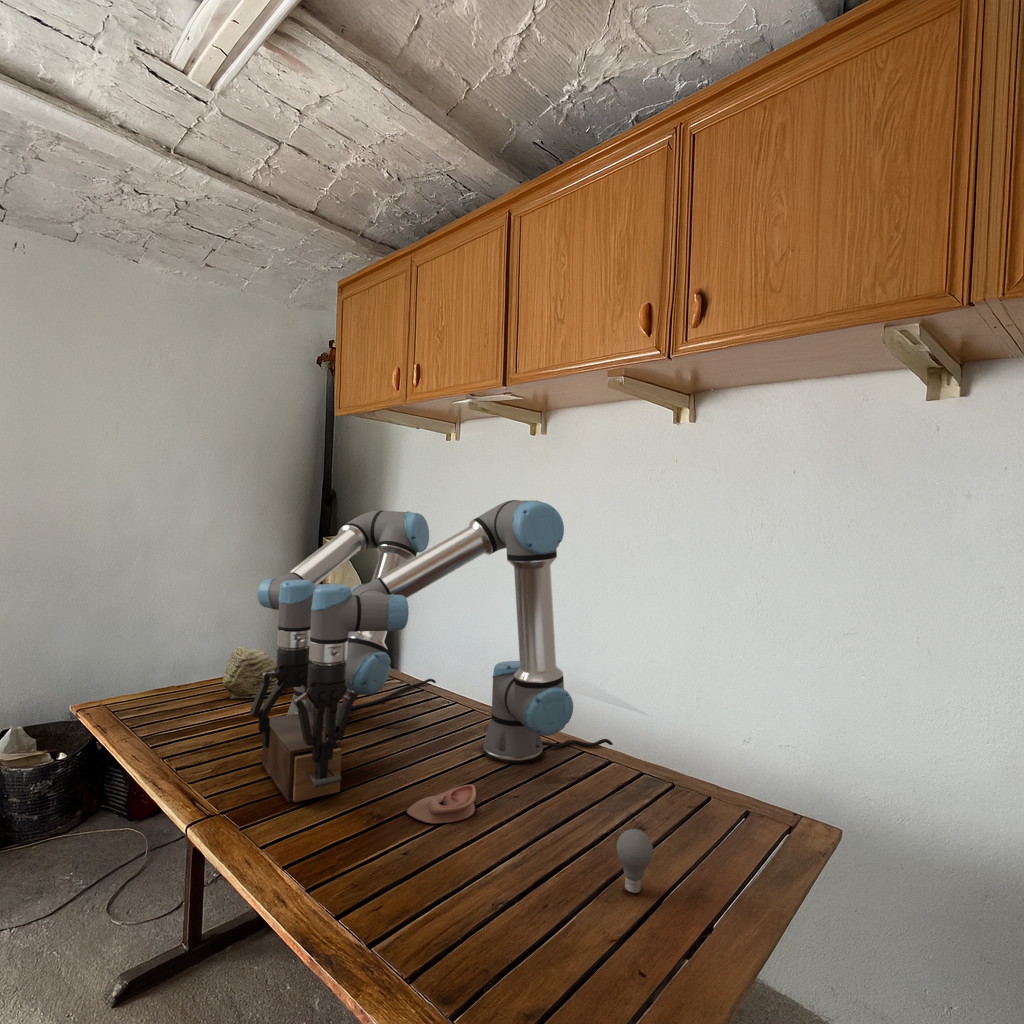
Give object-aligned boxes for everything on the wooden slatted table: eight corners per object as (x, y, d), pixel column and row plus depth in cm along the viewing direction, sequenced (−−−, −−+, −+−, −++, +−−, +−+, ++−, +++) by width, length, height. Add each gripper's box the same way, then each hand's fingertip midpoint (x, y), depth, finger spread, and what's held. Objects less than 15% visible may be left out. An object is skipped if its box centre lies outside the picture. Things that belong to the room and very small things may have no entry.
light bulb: (610, 879, 108) (613, 822, 108) (644, 879, 109) (647, 822, 109) (619, 902, 102) (622, 840, 102) (655, 901, 103) (658, 840, 103)
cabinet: (338, 790, 137) (340, 741, 137) (288, 802, 131) (290, 750, 130) (307, 755, 154) (309, 711, 154) (261, 764, 148) (263, 718, 148)
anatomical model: (401, 799, 125) (421, 775, 137) (400, 819, 126) (420, 793, 137) (466, 808, 123) (481, 783, 134) (465, 829, 123) (480, 802, 134)
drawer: (350, 803, 130) (351, 759, 130) (303, 814, 124) (305, 769, 124) (310, 757, 151) (311, 720, 151) (268, 765, 145) (270, 726, 145)
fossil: (218, 695, 195) (220, 647, 195) (278, 685, 208) (279, 640, 207) (228, 703, 189) (230, 653, 188) (289, 692, 201) (290, 645, 201)
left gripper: (245, 655, 138) (241, 756, 138) (348, 645, 151) (344, 737, 152) (237, 648, 144) (234, 744, 144) (337, 639, 157) (333, 727, 158)
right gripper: (301, 669, 122) (294, 790, 122) (365, 662, 130) (358, 776, 130) (289, 659, 128) (283, 775, 128) (351, 654, 136) (345, 763, 136)
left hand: (290, 740), depth 148 cm, fingers closed on cabinet, 11 cm apart
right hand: (321, 776), depth 129 cm, fingers closed
